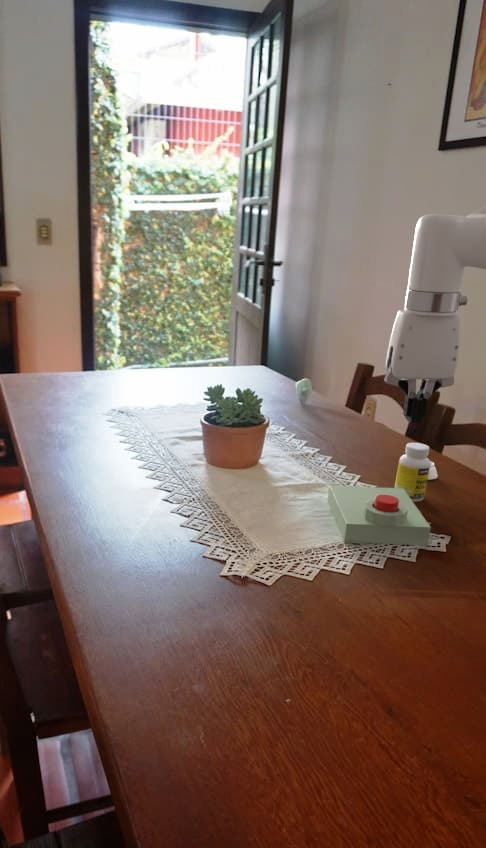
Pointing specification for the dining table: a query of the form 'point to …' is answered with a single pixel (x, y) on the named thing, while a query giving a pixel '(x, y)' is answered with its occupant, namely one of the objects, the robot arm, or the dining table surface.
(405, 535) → the red button box
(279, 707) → the dining table surface
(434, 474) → the small white bowl
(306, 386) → the pale green rock
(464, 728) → the dining table surface
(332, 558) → the dining table surface
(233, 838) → the dining table surface
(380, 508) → the button
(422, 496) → the supplement bottle
